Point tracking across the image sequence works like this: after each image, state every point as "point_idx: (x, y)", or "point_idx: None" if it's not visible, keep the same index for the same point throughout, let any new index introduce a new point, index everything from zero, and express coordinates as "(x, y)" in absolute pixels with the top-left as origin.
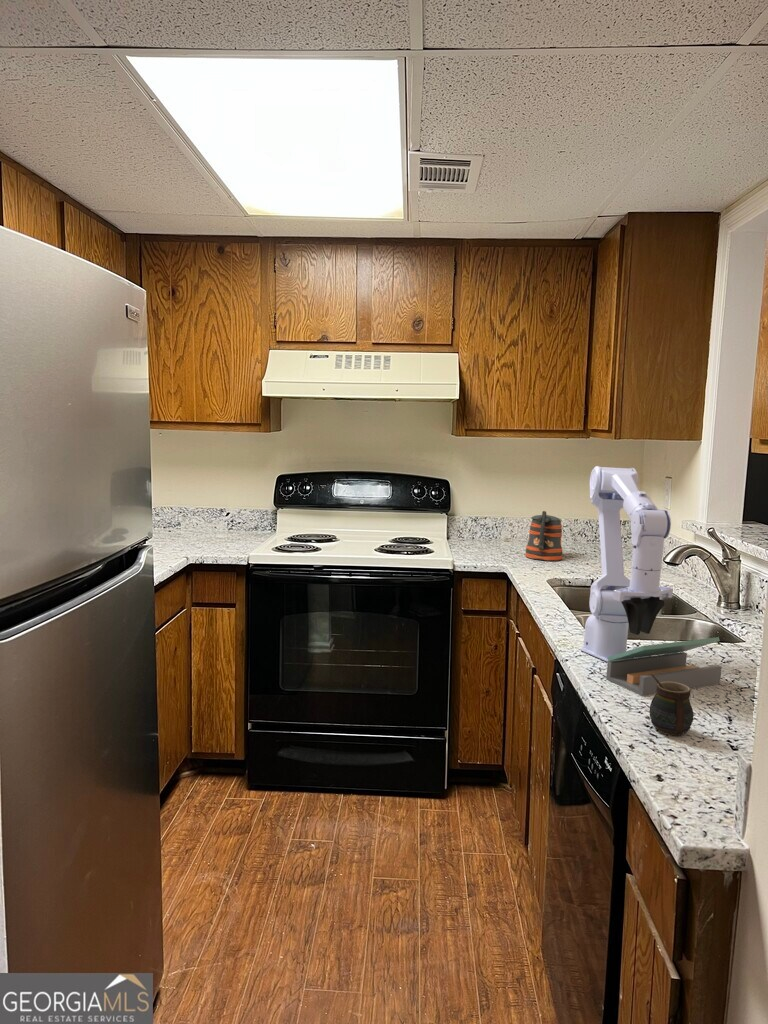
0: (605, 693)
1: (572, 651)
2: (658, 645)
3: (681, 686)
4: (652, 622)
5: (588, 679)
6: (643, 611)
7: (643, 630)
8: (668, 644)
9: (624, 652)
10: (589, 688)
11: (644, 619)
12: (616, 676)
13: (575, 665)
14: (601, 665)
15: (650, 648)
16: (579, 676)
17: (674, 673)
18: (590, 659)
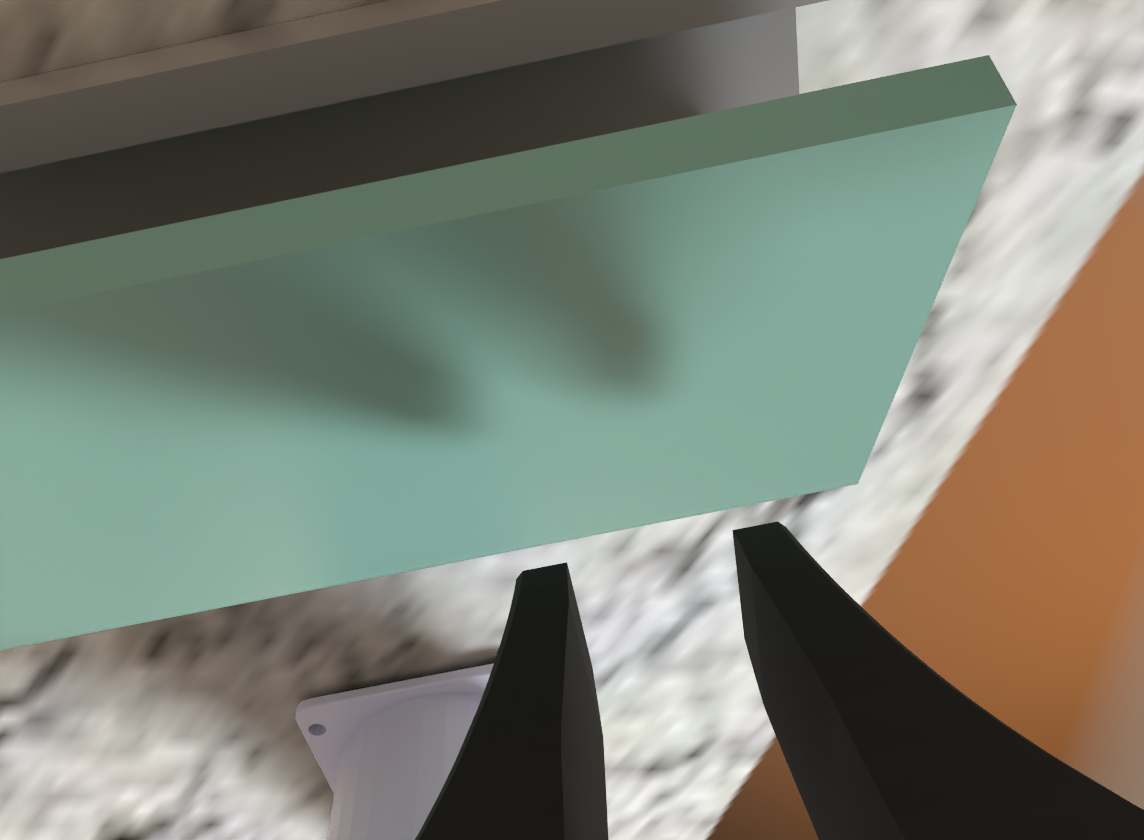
0: (1067, 52)
1: (657, 820)
2: (628, 167)
3: None
4: (517, 692)
5: (945, 374)
6: (965, 834)
7: (582, 642)
8: (390, 214)
9: (907, 350)
10: (1103, 187)
11: (591, 801)
12: None
13: None
14: (628, 615)
15: (826, 98)
16: (964, 435)
17: (336, 33)
18: (631, 709)
